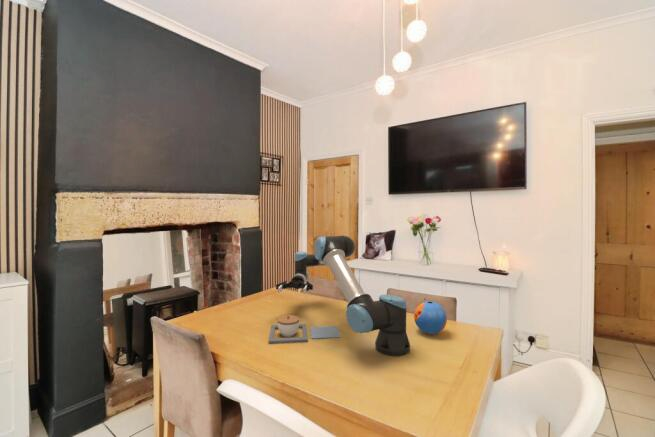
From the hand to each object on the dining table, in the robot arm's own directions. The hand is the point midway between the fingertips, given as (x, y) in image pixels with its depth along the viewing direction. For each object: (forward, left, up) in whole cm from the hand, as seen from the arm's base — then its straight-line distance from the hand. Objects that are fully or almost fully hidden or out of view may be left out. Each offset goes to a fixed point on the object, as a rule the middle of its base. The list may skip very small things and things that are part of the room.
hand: (291, 290), depth 166 cm
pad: (-10, -16, -19) cm, 27 cm away
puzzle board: (-10, +2, -19) cm, 21 cm away
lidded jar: (-10, +2, -19) cm, 22 cm away
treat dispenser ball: (-16, -68, -19) cm, 73 cm away
